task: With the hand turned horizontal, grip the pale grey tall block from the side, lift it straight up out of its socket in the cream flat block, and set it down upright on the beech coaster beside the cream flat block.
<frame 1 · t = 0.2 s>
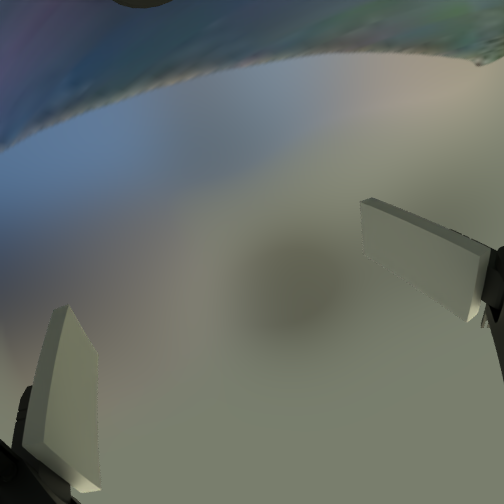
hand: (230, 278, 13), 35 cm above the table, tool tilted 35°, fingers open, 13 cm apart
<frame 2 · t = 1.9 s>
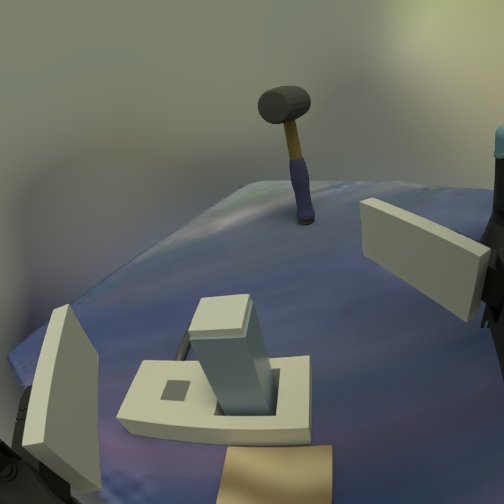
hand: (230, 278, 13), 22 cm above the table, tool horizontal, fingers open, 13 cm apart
rubber mallet: (307, 223, 71), on the table
pale grey tall block: (255, 410, 31), resting in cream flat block
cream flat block: (219, 410, 32), on the table
coaster: (274, 494, 22), on the table
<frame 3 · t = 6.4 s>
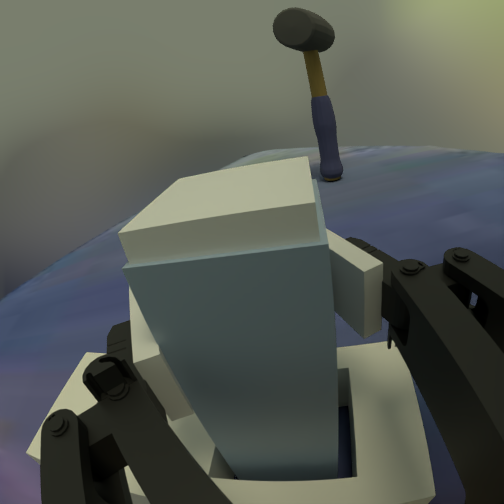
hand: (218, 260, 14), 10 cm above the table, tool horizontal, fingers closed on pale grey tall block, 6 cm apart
rubber mallet: (333, 180, 54), on the table
pale grey tall block: (293, 454, 14), resting in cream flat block, touching gripper
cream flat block: (221, 452, 15), on the table
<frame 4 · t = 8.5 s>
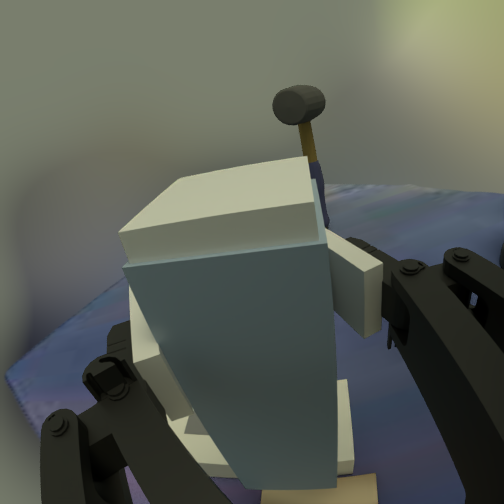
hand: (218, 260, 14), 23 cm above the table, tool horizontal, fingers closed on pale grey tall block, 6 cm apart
rubber mallet: (321, 229, 67), on the table
pale grey tall block: (293, 453, 14), point 13 cm above the table, touching gripper
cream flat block: (249, 440, 28), on the table
when the fingers open (11 cm above the table, at t = 11.0 s): pale grey tall block stays where it is, resting on coaster.
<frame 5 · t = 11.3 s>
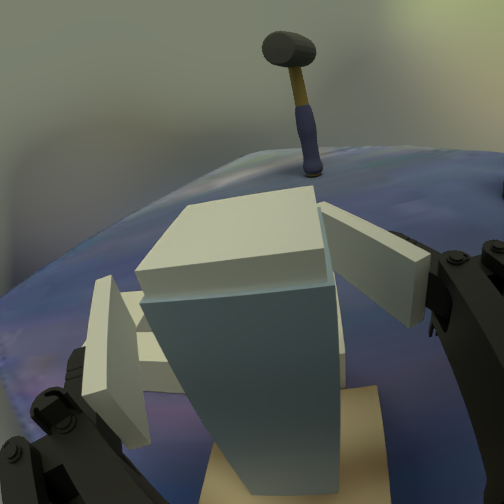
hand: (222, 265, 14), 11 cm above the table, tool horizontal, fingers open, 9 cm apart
rubber mallet: (314, 176, 64), on the table
pale grey tall block: (296, 460, 15), point 1 cm above the table, touching coaster
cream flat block: (214, 350, 25), on the table
coaster: (296, 464, 15), on the table
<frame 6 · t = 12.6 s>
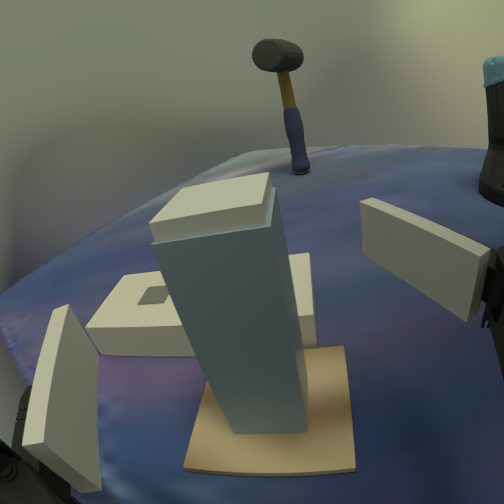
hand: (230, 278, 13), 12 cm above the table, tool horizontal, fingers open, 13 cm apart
rubber mallet: (302, 174, 69), on the table
pale grey tall block: (273, 405, 19), point 1 cm above the table, touching coaster
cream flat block: (206, 322, 29), on the table
coaster: (273, 410, 19), on the table
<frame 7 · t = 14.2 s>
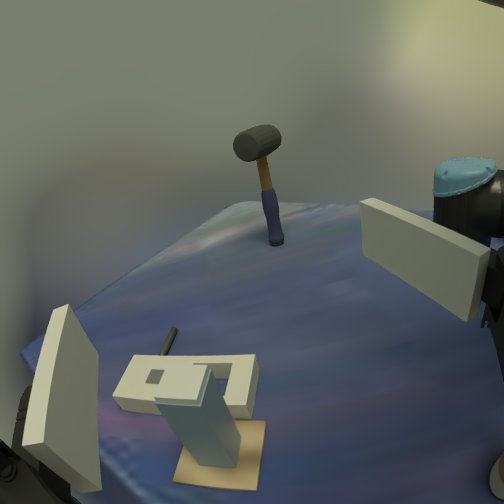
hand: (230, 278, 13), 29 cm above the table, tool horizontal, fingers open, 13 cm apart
rubber mallet: (277, 244, 83), on the table
pale grey tall block: (220, 452, 33), point 1 cm above the table, touching coaster
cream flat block: (189, 393, 43), on the table
coaster: (221, 454, 33), on the table
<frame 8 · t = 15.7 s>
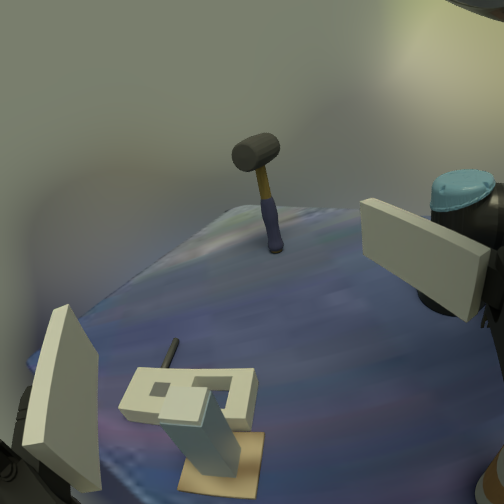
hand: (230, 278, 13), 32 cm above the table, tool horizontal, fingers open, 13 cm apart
coffee cup: (495, 491, 20), on the table
rubber mallet: (277, 251, 84), on the table
pale grey tall block: (221, 462, 34), point 1 cm above the table, touching coaster
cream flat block: (191, 404, 45), on the table
coaster: (222, 463, 35), on the table
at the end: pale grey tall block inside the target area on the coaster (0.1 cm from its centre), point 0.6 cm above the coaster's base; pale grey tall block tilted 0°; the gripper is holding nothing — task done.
